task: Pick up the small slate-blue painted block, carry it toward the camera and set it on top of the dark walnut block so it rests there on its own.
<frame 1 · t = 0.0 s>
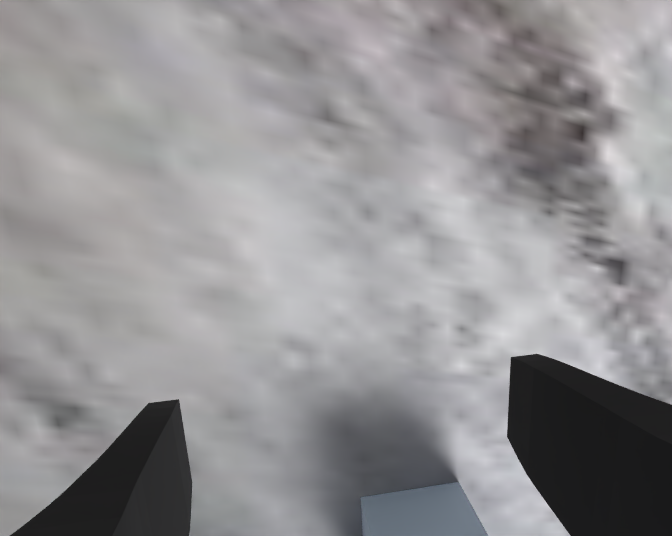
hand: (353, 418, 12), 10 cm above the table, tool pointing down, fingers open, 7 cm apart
slate block: (410, 529, 27), on the table
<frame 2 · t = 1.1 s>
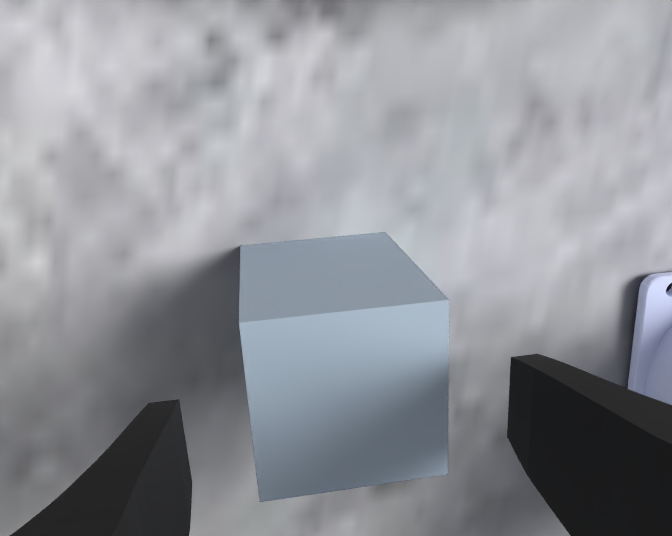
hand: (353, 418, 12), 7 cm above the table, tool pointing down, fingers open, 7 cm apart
slate block: (318, 306, 19), on the table
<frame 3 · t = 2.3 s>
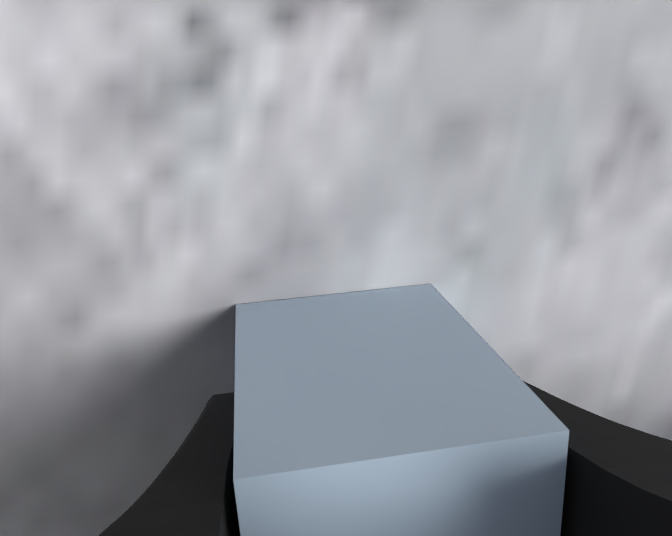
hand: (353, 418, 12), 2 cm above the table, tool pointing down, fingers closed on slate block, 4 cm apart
slate block: (340, 381, 14), on the table, touching gripper
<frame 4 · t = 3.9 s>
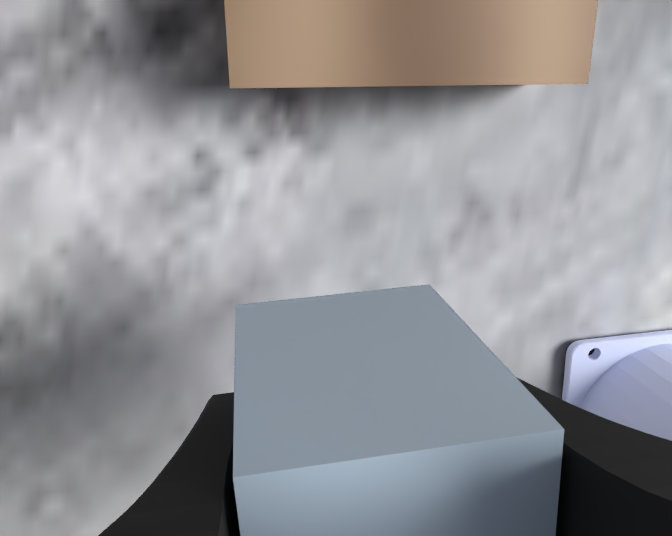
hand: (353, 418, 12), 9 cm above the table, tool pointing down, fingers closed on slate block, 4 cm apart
slate block: (339, 381, 14), point 7 cm above the table, touching gripper
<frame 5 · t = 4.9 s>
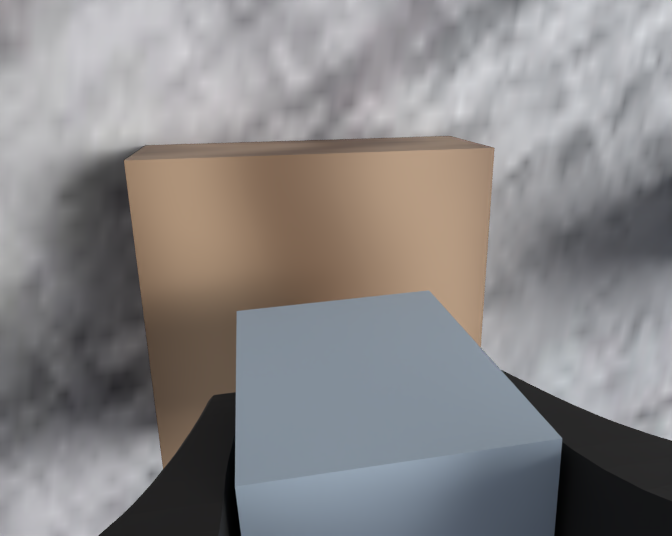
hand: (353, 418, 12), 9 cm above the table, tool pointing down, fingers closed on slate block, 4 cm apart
slate block: (339, 386, 14), point 7 cm above the table, touching gripper
walnut block: (307, 281, 21), on the table
when the fingers open (7 cm above the table, at t = 5.6 s): slate block drops 2 cm, point 4 cm above the table.
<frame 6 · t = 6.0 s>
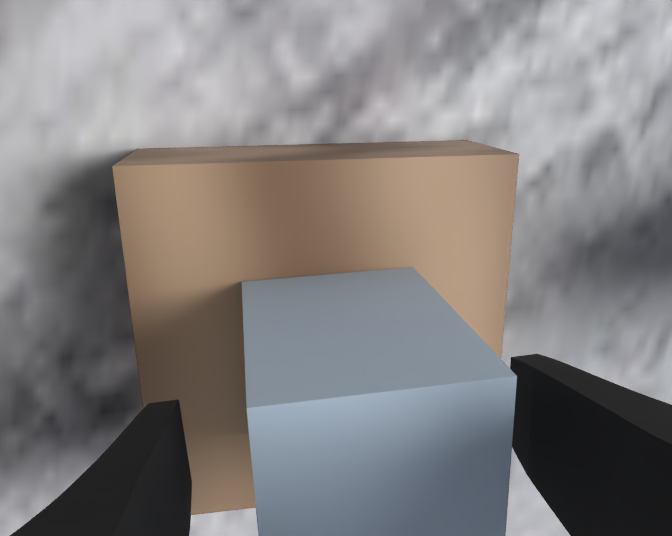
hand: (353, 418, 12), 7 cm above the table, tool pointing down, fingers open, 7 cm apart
slate block: (332, 352, 16), point 4 cm above the table
walnut block: (311, 294, 19), on the table
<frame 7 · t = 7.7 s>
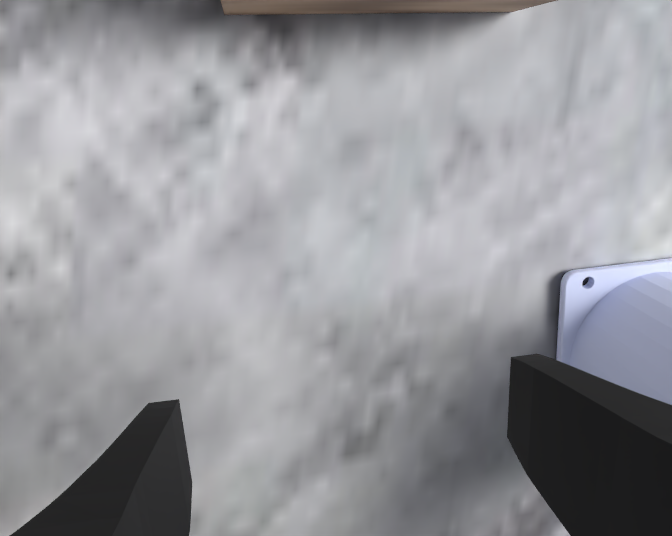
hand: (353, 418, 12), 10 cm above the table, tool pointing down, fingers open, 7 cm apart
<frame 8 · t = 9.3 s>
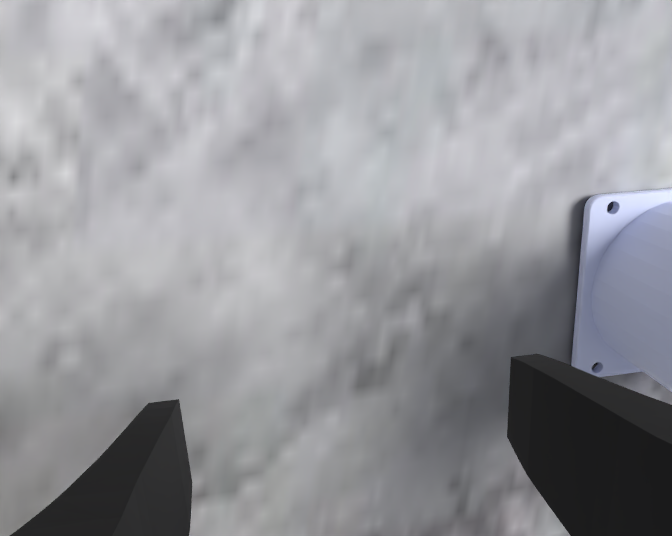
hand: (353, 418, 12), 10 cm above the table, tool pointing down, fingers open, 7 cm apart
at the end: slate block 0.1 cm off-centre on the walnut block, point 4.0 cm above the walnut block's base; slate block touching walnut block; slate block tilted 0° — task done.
